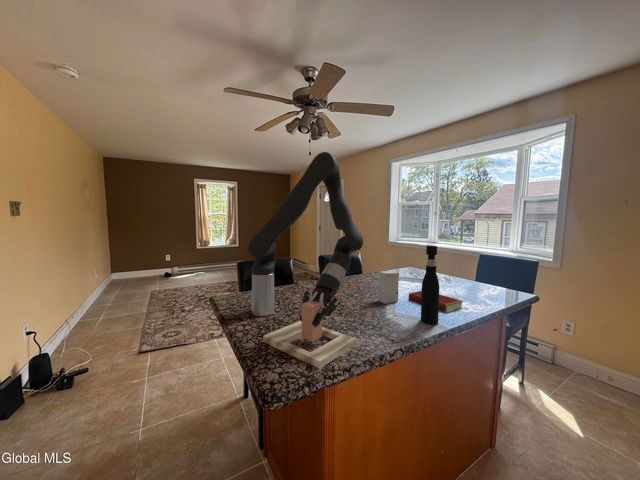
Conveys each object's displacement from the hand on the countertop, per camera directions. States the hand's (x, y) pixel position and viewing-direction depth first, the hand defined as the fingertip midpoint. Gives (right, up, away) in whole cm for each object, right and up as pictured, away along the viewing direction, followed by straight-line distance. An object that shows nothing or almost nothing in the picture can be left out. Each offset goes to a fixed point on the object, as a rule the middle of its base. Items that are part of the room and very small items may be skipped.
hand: (308, 323), depth 81 cm
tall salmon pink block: (+1, -5, +2) cm, 6 cm away
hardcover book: (+59, -5, +43) cm, 73 cm away
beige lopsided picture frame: (0, -7, +3) cm, 8 cm away
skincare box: (+38, -5, +47) cm, 60 cm away
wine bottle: (+47, -6, +21) cm, 52 cm away
